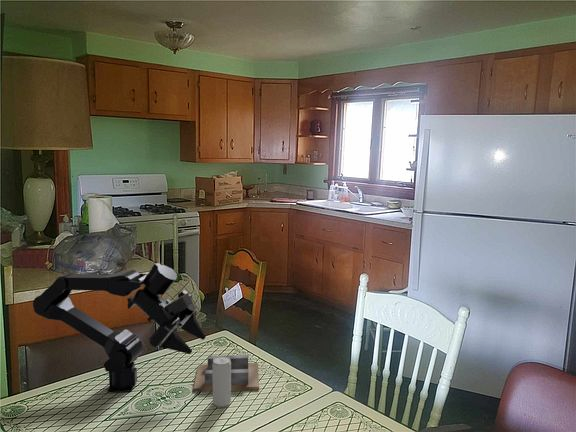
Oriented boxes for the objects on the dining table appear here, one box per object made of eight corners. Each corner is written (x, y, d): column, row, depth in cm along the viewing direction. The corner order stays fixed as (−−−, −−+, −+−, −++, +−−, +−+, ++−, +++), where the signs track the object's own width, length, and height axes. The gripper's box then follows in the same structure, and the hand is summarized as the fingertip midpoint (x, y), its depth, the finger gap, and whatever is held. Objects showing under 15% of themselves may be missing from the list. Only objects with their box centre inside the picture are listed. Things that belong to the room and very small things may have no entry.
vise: (193, 391, 128) (193, 376, 127) (199, 365, 143) (198, 351, 142) (259, 390, 129) (259, 374, 129) (257, 364, 144) (257, 350, 144)
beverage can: (216, 409, 119) (215, 365, 117) (210, 400, 123) (209, 358, 122) (233, 405, 121) (233, 362, 120) (227, 396, 126) (227, 354, 124)
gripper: (154, 296, 113) (202, 338, 112) (186, 275, 131) (227, 312, 130) (129, 327, 116) (176, 369, 115) (164, 303, 134) (204, 339, 133)
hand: (198, 345), depth 123 cm, fingers open, 9 cm apart
